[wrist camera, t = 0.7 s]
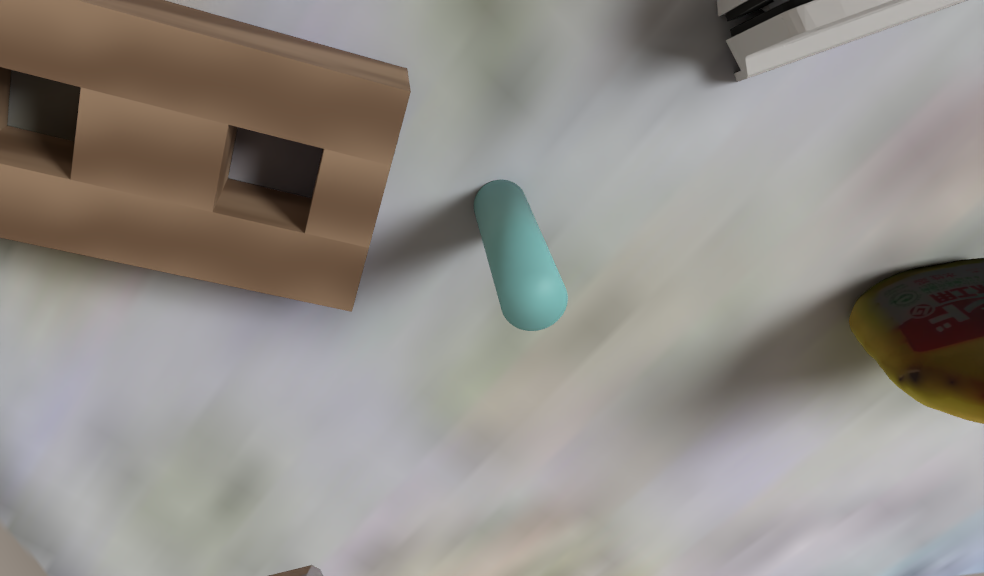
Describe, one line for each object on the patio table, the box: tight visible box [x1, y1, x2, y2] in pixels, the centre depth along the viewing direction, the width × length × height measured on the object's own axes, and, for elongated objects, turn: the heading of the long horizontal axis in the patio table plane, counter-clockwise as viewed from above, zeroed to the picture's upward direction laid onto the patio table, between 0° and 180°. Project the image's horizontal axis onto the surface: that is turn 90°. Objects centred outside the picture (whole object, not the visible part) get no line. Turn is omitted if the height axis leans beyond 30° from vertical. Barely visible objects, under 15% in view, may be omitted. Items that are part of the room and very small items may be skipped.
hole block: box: [0, 0, 411, 312], centre depth 43 cm, size 12×22×5 cm, turn 73°
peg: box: [474, 180, 568, 331], centre depth 44 cm, size 3×3×12 cm
